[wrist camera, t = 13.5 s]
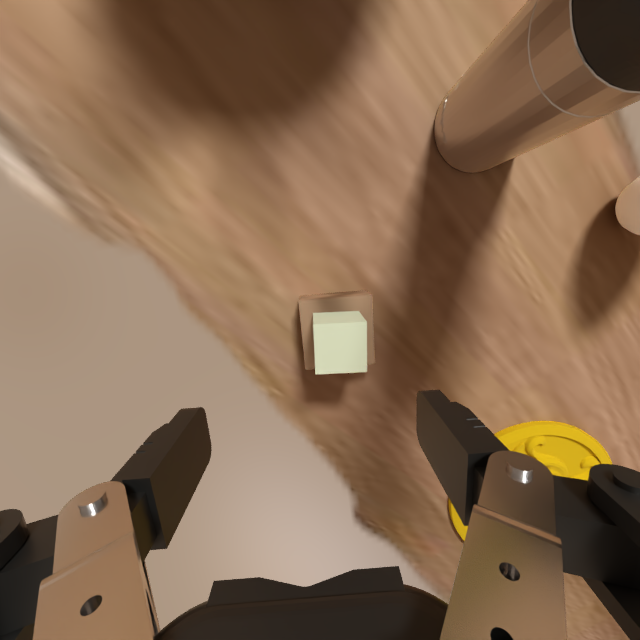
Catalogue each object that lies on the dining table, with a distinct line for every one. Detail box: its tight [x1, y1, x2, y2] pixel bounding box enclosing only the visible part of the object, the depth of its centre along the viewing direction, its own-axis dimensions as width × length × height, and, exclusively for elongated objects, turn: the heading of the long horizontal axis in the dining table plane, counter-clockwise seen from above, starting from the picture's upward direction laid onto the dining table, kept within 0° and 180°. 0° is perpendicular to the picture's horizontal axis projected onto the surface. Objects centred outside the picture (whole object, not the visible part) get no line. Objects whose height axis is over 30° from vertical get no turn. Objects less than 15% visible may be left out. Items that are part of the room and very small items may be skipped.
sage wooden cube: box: [313, 311, 367, 374], centre depth 30 cm, size 5×5×5 cm
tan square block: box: [299, 290, 375, 370], centre depth 35 cm, size 8×8×4 cm
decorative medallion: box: [448, 421, 612, 541], centre depth 43 cm, size 24×24×2 cm
